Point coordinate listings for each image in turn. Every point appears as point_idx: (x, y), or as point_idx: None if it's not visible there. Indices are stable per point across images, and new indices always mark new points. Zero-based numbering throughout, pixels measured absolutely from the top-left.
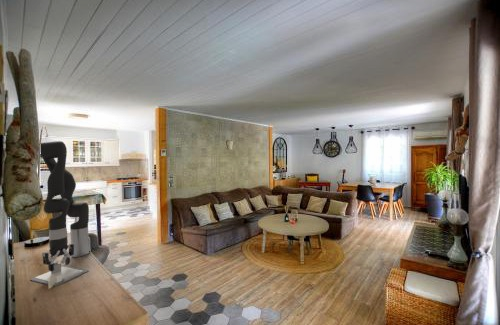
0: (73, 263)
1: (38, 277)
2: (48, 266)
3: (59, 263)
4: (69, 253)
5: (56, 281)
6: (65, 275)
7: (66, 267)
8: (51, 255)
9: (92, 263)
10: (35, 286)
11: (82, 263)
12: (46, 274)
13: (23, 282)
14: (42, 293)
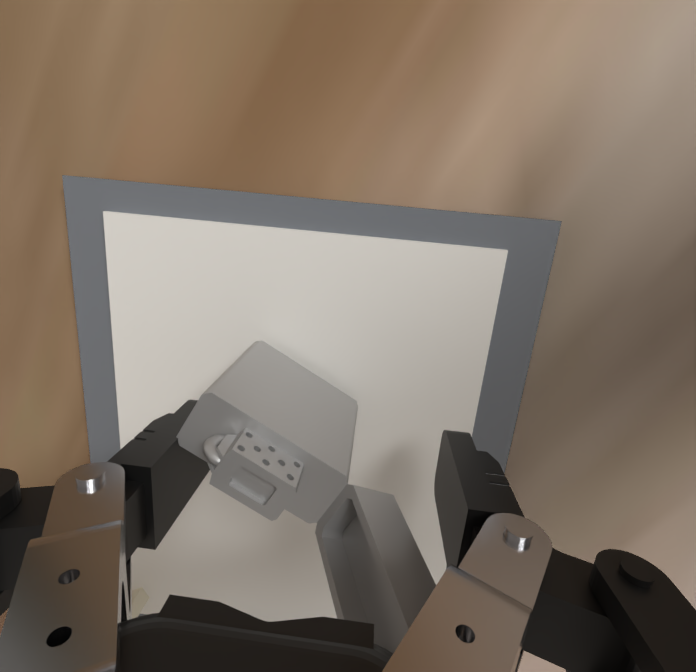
0: (686, 264)
1: (127, 270)
2: (119, 455)
3: (301, 505)
4: (599, 629)
5: (142, 603)
6: (276, 568)
7: (477, 364)
8: (24, 644)
9: (682, 560)
10: (32, 431)
11: (684, 420)
12: (223, 290)
13: (7, 151)
14: (4, 617)
